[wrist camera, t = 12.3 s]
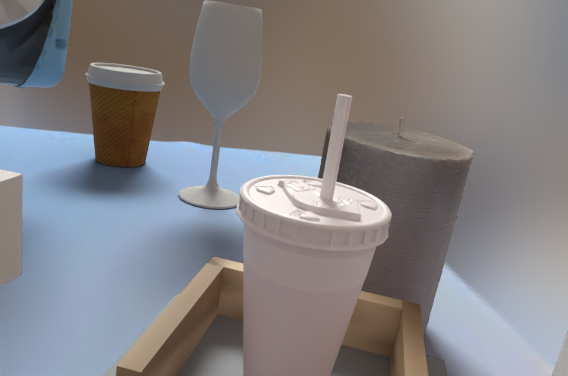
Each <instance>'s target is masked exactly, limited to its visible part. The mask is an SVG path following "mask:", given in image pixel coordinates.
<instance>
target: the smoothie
mask: <svg viewBox="0 0 568 376" xmlns="http://www.w3.org/2000/svg"><path fill="white" fill-rule="evenodd" d="M351 99H352V96H349V95H344V94H338V96H337V101H336V107H335V112H334V118H333V124H332V129H331V135H330V141H329V146H328V152H327V157H326V163H325V169H324V174H323V179H320V178H314V177H307V176H296V175H272V176H264V177H258V178H255V179H252V180H250V181H248V182H246V183H245V184H244V185H242V187H241V189H240V198H239V203H238V204H237V211H236V213H237V215H238V216H239V218H240V220H241V221H242V222H243V223H244V239H243V257H244V262H243V376H330V375H331V372H332V369H333V366H334V364H335V361H336V358H337V355H338V353H339V350H340V347H341V344H342V341H343V339H344V336H345V333H346V330H347V328H348V325H349V322H350V319H351V316H352V314H353V311H354V308H355V305H356V303H357V300H358V297H359V294H360V292H361V289H362V286H363V283H364V280H365V278H366V276H367V273H368V270H369V267H370V264H371V261H372V258H373V255H374V252H375V249H376V247H377V246H379V245H381V244H383V243H384V242H385V240H386V239H387V238H388V229H389V225H390V220H391V211H390V209H389V208H388V206H387V205H386V204H385V203H384V202H382V201H381V200H380V199H378V198H377V197H375V196H373V195H371V194H369V193H367V192H365V191H363V190H360V189H358V188H355V187H352V186H349V185H346V184H342V183H339V182H336V180H337V175H338V170H339V164H340V159H341V153H342V148H343V143H344V137H345V132H346V127H347V121H348V116H349V109H350V105H351Z"/></svg>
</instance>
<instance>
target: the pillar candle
mask: <svg viewBox="0 0 568 376" xmlns="http://www.w3.org/2000/svg"><path fill="white" fill-rule="evenodd" d="M403 122H404V118H403V117H401V118H400V122H399V127H395V126H390V125H383V124H375V123H366V122H348V121H347V127H346V132H345V137H344V143H343V148H342V153H341V159H340V164H339V170H338V175H337V180H336V182H339V183H342V184H346V185H349V186H352V187H355V188H358V189H360V190H363V191H365V192H367V193H369V194H371V195H373V196H375V197H377V198H378V199H380V200H381V201H382V202H384V203H385V204H386V205H387V206H388V208H389V209H390V211H391V220H390V225H389V229H388V238H387V239H386V240H385V242H384V243H383V244H381V245H379V246H377V247H376V249H375V252H374V255H373V258H372V261H371V264H370V267H369V270H368V273H367V276H366V278H365V280H364V283H363V286H362V289H361V291H364V292H369V293H373V294H377V295H381V296H386V297H390V298H394V299H399V300H403V301H407V302H412V303H416V304H420V308H421V317H422V326H423V335H424V334H425V331H426V327H427V324H428V321H429V316H430V312H431V309H432V306H433V302H434V298H435V294H436V291H437V287H438V283H439V281H440V277H441V274H442V269H443V266H444V261H445V257H446V254H447V250H448V246H449V242H450V239H451V235H452V231H453V227H454V224H455V221H456V219H457V212H458V209H459V205H460V203H461V199H462V194H463V190H464V186H465V183H466V179H467V175H468V172H469V168H470V165H471V161H472V159H473V155H474V154H475V153H474V152H473V151H472V150H470V149H467V148H465V147H464V146H462V145H459V144H457V143H455V142H452V141H450V140H447V139H444V138H441V137H438V136H435V135H432V134H428V133H424V132H420V131H416V130H412V129H407V128H402V126H403ZM332 124H333V123H331V124H330V125H328V128H327V133H326V138H325V143H324V148H323V154H322V159H321V165H320V171H319V175H318V178H320V179H323V174H324V169H325V163H326V157H327V152H328V146H329V141H330V135H331V129H332Z"/></svg>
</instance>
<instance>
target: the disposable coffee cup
mask: <svg viewBox="0 0 568 376" xmlns="http://www.w3.org/2000/svg"><path fill="white" fill-rule="evenodd" d="M86 77H87V80H88V82H89V86H90V99H91V110H92V122H93V134H94V145H95V159H96V160H97V161H98V162H100V163H103V164H106V165H111V166H117V167H135V166H140V165H143V164H144V163H145V161H146V156H147V151H148V146H149V142H150V137H151V132H152V127H153V123H154V118H155V113H156V108H157V104H158V98H159V94H160V91H161V90H162V86H164V82H163V81H162V73H161V72H159V71H156V70H152V69H147V68H142V67H135V66H129V65H121V64H110V63H91V64H90V66H89V70H88V73H86Z"/></svg>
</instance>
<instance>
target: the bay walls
mask: <svg viewBox="0 0 568 376" xmlns="http://www.w3.org/2000/svg"><path fill="white" fill-rule="evenodd" d="M217 314H220V315H224V316H228V317H232V318H236V319H240V320H243V263H239V262H235V261H231V260H226V259H222V258H218V257H212V258H211V259H210V260H209V261H208V262H207V263H206V265H205V266H204V267H203V268H202V269H201V270H200V271H199V273H198V274H197V275H196V276H195V277H194V278H193V279H192V280H191V282H190V283H189V284H188V285H187V286H186V287H185V288H184V290H183V291H182V292H181V293H180V294H179V295H178V296H177V298H176V299H175V300H174V301H173V302H172V303H171V304H170V306H169V307H168V308H167V309H166V310H165V311H164V312H163V313H162V315H161V316H160V317H159V318H158V319H157V320H156V321H155V323H154V324H153V325H152V326H151V327H150V328H149V329H148V331H147V332H146V333H145V334H144V335H143V336H142V337H141V339H140V340H139V341H138V342H137V343H136V344H135V345H134V346H133V348H132V349H131V350H130V351H129V352H128V353H127V354H126V356H125V357H124V358H123V359H122V360H121V361H120V362H119V364H118V365H117V367H116V376H176V375H177V374H178V372H179V371H180V369H181V368H182V366H183V365H184V363H185V362H186V360H187V359H188V357H189V356H190V354H191V353H192V351H193V350H194V348H195V347H196V345H197V344H198V342H199V341H200V339H201V338H202V336H203V335H204V333H205V332H206V330H207V329H208V327H209V326H210V324H211V323H212V321H213V320H214V318H215V317H216V315H217ZM341 345H344V346H348V347H352V348H356V349H360V350H364V351H369V352H373V353H377V354H381V355H385V356H389V357H390V376H428V370H427V361H426V352H425V343H424V335H423V326H422V317H421V308H420V304H416V303H412V302H407V301H403V300H399V299H394V298H390V297H386V296H381V295H377V294H373V293H369V292H364V291H361V292H360V294H359V297H358V300H357V303H356V305H355V308H354V311H353V314H352V316H351V319H350V322H349V325H348V328H347V330H346V333H345V336H344V339H343V341H342V344H341Z"/></svg>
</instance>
